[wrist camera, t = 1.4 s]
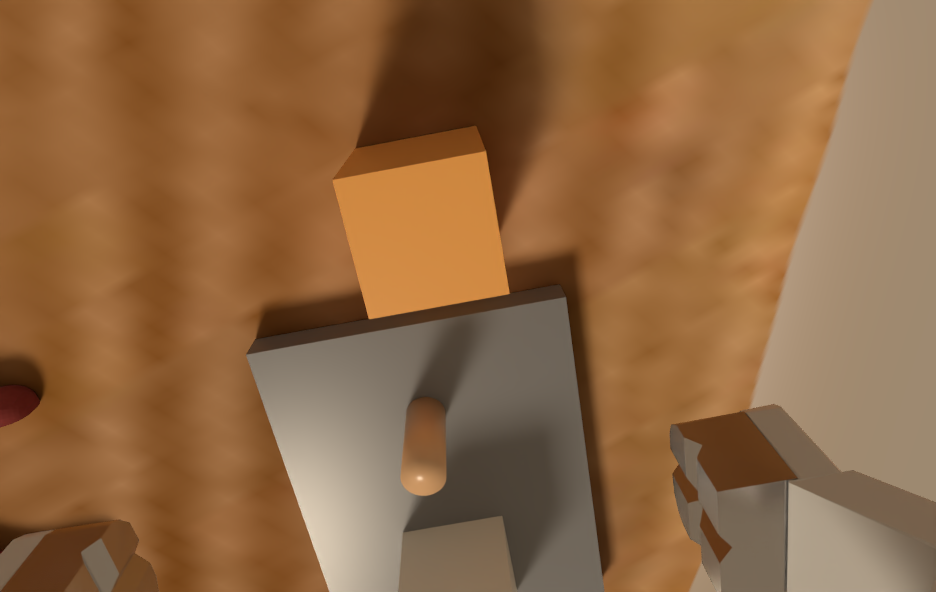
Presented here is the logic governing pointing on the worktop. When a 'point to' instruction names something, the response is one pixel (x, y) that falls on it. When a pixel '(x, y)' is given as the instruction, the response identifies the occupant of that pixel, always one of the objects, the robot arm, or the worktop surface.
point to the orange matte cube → (422, 222)
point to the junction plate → (480, 435)
